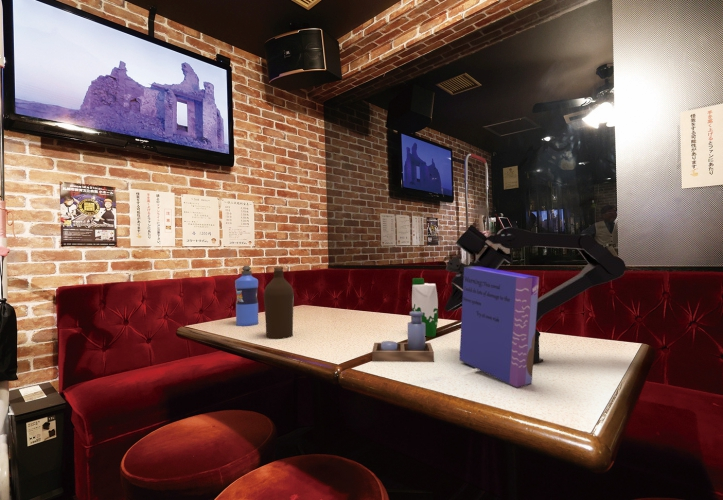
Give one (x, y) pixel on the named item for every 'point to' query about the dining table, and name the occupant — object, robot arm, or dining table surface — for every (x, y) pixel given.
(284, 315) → the olive oil
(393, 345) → the blue-grey round dome
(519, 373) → the purple book
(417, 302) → the milk carton
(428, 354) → the caddy
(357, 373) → the dining table surface
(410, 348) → the flask
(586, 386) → the dining table surface
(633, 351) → the dining table surface
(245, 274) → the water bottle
